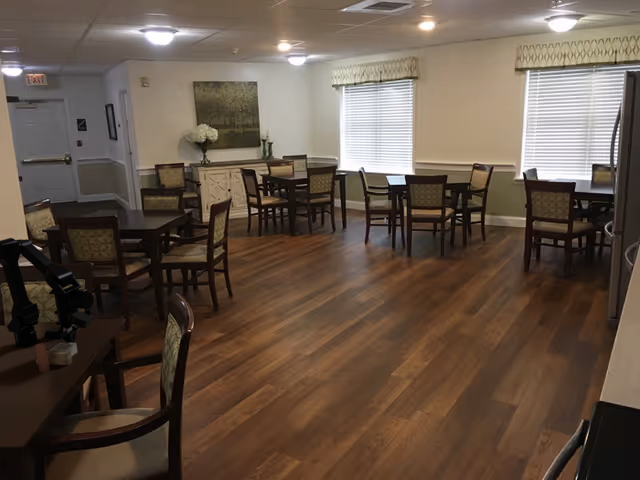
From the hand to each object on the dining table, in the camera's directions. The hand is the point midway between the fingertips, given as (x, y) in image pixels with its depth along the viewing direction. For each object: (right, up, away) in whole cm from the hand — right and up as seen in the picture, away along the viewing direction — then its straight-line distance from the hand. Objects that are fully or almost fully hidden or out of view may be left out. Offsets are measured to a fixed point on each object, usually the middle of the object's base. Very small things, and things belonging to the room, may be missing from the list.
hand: (72, 347), depth 184 cm
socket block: (-1, -2, -4) cm, 5 cm away
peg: (-2, -5, -14) cm, 15 cm away
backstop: (-1, -3, -9) cm, 10 cm away
